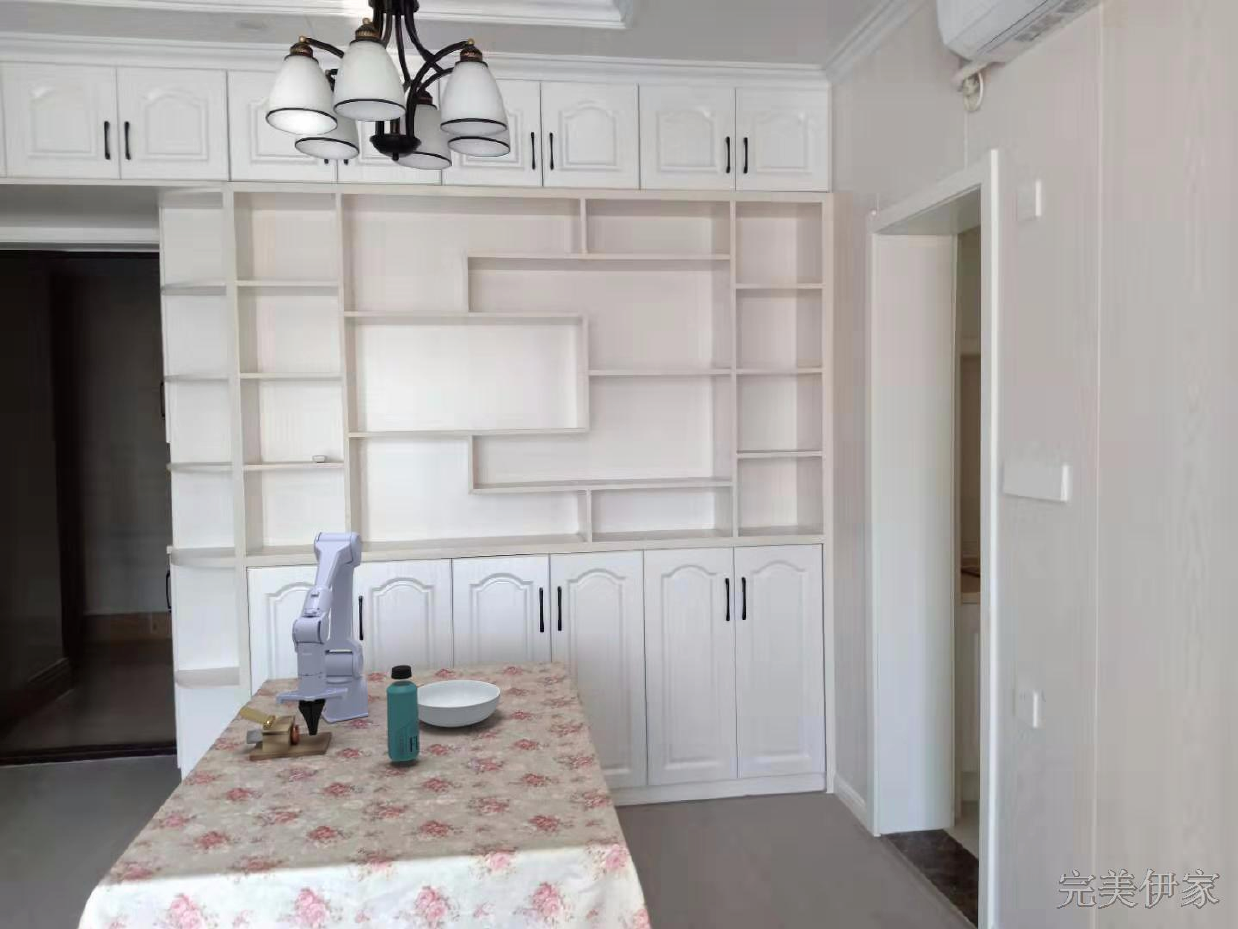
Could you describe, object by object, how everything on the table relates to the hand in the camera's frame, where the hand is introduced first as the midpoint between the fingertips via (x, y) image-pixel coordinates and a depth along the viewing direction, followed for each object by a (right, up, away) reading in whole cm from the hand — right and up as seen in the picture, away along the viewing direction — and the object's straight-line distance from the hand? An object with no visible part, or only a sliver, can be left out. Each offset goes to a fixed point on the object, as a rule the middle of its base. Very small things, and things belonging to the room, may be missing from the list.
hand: (313, 734), depth 187 cm
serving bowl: (+28, -2, +15) cm, 32 cm away
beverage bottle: (+22, -3, -9) cm, 24 cm away
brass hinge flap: (-12, +4, -2) cm, 13 cm away
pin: (-8, -2, -2) cm, 8 cm away
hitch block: (-4, -3, -1) cm, 5 cm away
